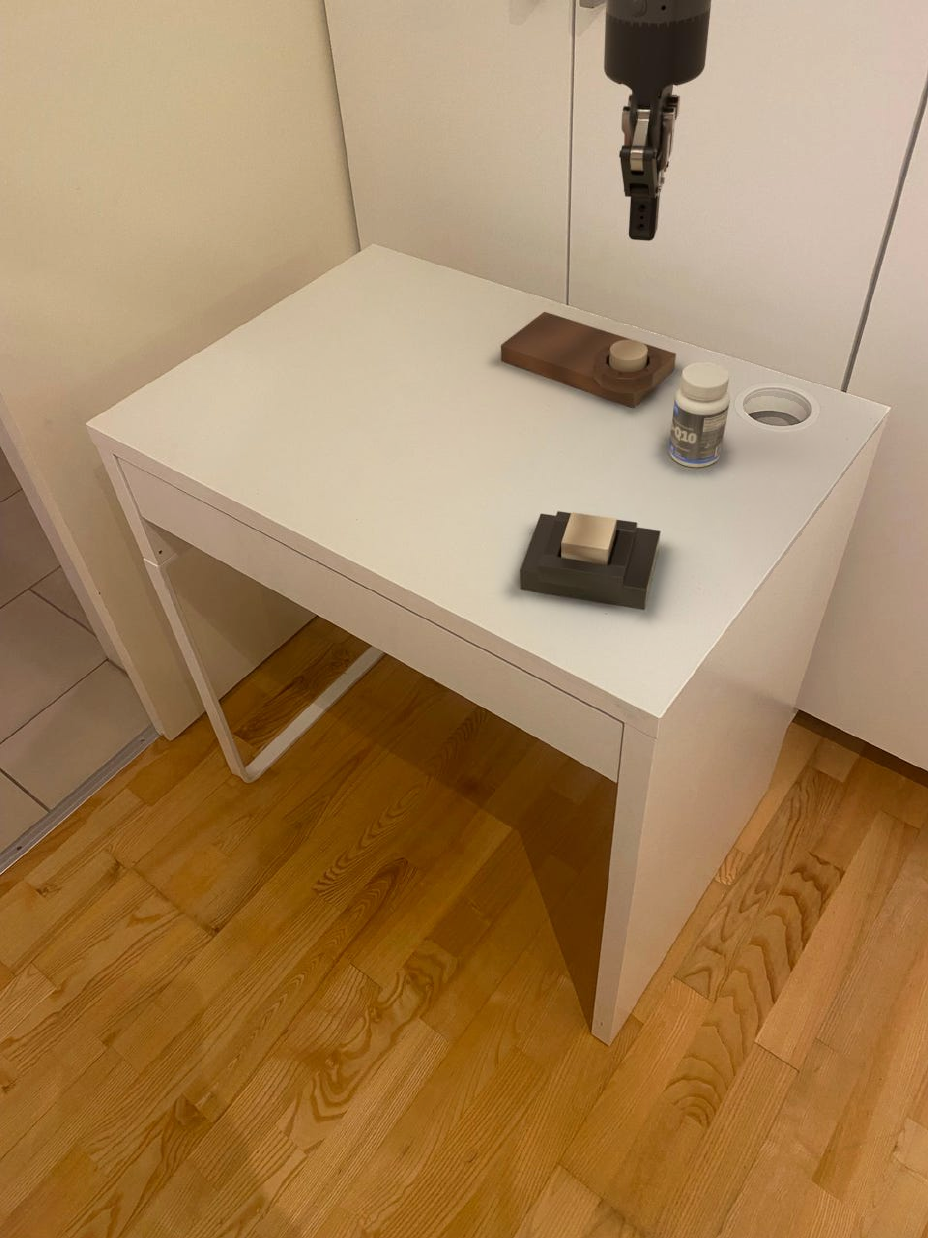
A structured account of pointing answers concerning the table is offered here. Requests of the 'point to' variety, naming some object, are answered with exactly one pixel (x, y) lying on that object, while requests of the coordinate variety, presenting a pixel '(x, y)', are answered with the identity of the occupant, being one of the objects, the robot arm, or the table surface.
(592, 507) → the table surface
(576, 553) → the near key
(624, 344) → the far key
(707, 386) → the pill bottle
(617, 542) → the key box
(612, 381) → the brown flat piece
